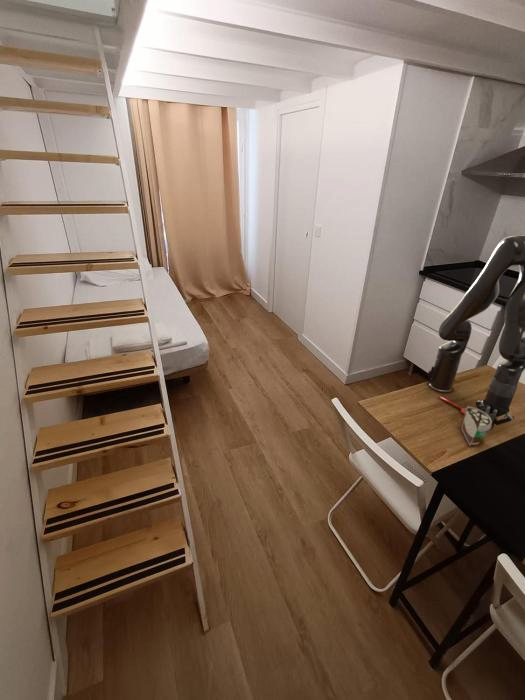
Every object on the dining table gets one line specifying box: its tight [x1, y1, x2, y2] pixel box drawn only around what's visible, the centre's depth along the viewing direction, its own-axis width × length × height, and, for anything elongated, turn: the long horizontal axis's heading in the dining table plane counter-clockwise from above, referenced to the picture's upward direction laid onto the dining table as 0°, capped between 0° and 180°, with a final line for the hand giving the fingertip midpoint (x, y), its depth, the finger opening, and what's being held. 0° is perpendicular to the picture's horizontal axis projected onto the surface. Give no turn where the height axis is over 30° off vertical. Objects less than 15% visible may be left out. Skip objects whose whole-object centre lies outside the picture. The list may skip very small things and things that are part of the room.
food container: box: [461, 405, 492, 447], centre depth 120 cm, size 12×6×10 cm, turn 168°
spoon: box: [439, 396, 467, 416], centre depth 139 cm, size 14×4×1 cm, turn 29°
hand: (486, 429), depth 124 cm, fingers closed
